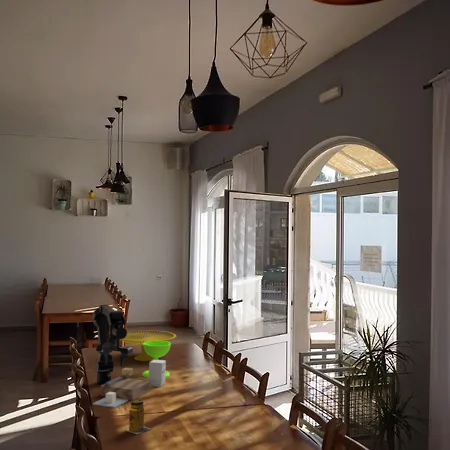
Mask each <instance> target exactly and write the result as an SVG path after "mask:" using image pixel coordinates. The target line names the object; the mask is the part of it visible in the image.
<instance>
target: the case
mask: <svg viewBox="0 0 450 450" xmlns="http://www.w3.org/2000/svg"><path fill="white" fill-rule="evenodd" d="M150 391H151V386H150V381H149V380H144V379H136V378H129V377H127V376H126V375H120V376H118V377H116V378H113V379H111V381H108V382H106V383H105V384H104V385H100V397H106V393H108V392H115V393H116V398H120V399H127V400H128V401H133V400H137V398H139V397H141V396H143V395H145V394H146V393H148V392H150Z"/></svg>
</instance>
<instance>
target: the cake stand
mask: <svg viewBox="0 0 450 450" xmlns="http://www.w3.org/2000/svg"><path fill="white" fill-rule="evenodd" d="M176 338H177V334H176V333H173V332H170V331H163V330H155V329H154V330H153V329H150V330H149V329H147V330H145V329H144V330H139V329H138V330H128V331H127V335H126V337H125V338H123V339H120V341H122V342H124V343H126V344H129V345H132V346H133V345H134V346H135V345H137V346H140V347H141V353H140V354H138V355H137V356H135V357H134V360H136V361H141V362H151V361H152V360H155V357H152V356H150V355H148V354H147V353H146V351H145V350H144V347H143V343H144V342H147V341H167V342H170V341H172V340H174V339H176Z"/></svg>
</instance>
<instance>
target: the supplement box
mask: <svg viewBox="0 0 450 450" xmlns="http://www.w3.org/2000/svg"><path fill="white" fill-rule="evenodd" d="M148 362H149V363H148V370H149V378H148V381H150V387H158V388H159V387H160V388H161V387H163V386H164V385H165V384H166V377H165V371H167V370H166V369H167V368H166V365H167V360H164V359H158V360H151V361H148Z"/></svg>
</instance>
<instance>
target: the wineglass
mask: <svg viewBox="0 0 450 450" xmlns="http://www.w3.org/2000/svg"><path fill="white" fill-rule="evenodd" d="M171 345H172V343H171V342H170V341H168V342H167V341H147V342H144V343H143V347H144V350H145V351H146V353H147V354H148V355H150V356H152V357H155V360H159V358H161V357H162V358H163V357H164V356H165V355H167V354H168V352H169V351H170V349H171ZM141 375H142V376H143V377H144V378H148V379H149V369H147V370H145V371H143V372H142V374H141ZM170 375H171V373H170V372H169V371H168V370H166V371H165V378H167V377H169V376H170Z"/></svg>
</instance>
